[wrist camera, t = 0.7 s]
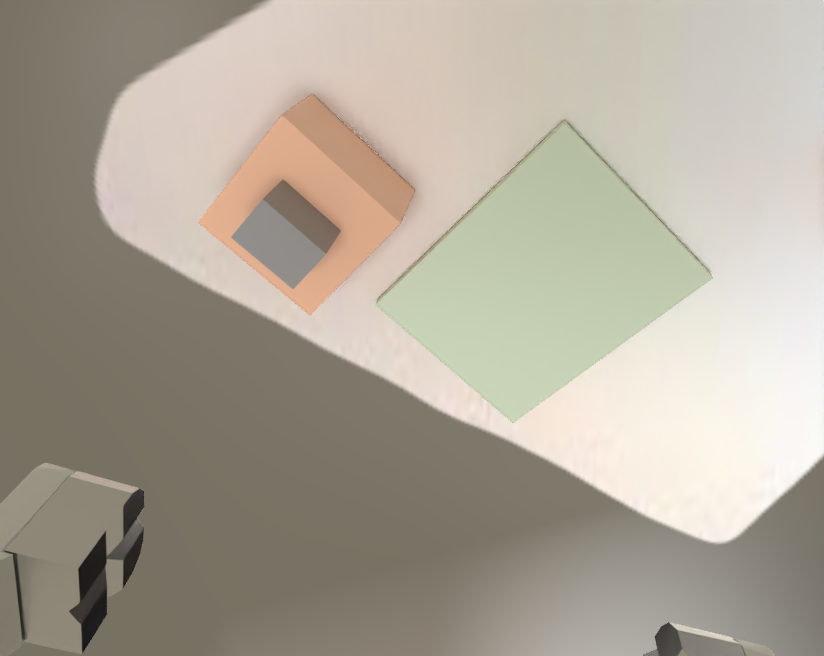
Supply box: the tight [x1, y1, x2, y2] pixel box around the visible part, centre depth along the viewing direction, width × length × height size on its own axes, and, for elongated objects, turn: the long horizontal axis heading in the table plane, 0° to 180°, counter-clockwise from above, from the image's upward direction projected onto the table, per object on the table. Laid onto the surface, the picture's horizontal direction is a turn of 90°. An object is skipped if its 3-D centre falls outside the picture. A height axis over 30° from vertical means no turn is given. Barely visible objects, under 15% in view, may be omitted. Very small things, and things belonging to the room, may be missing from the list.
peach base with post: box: [198, 94, 415, 315], centre depth 46 cm, size 10×10×11 cm
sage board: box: [376, 120, 713, 423], centre depth 52 cm, size 20×16×1 cm
